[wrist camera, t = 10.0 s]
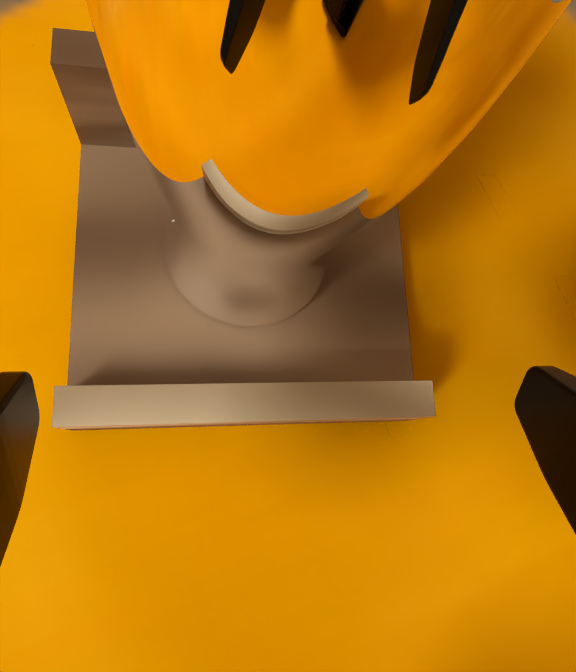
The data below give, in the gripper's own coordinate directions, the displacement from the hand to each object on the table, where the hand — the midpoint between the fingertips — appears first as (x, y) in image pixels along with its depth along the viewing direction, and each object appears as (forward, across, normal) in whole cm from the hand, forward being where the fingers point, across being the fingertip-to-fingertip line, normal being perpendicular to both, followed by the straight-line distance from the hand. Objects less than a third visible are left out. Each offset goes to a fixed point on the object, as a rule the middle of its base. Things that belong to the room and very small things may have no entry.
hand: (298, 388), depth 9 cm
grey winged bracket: (+11, 0, +3) cm, 11 cm away
